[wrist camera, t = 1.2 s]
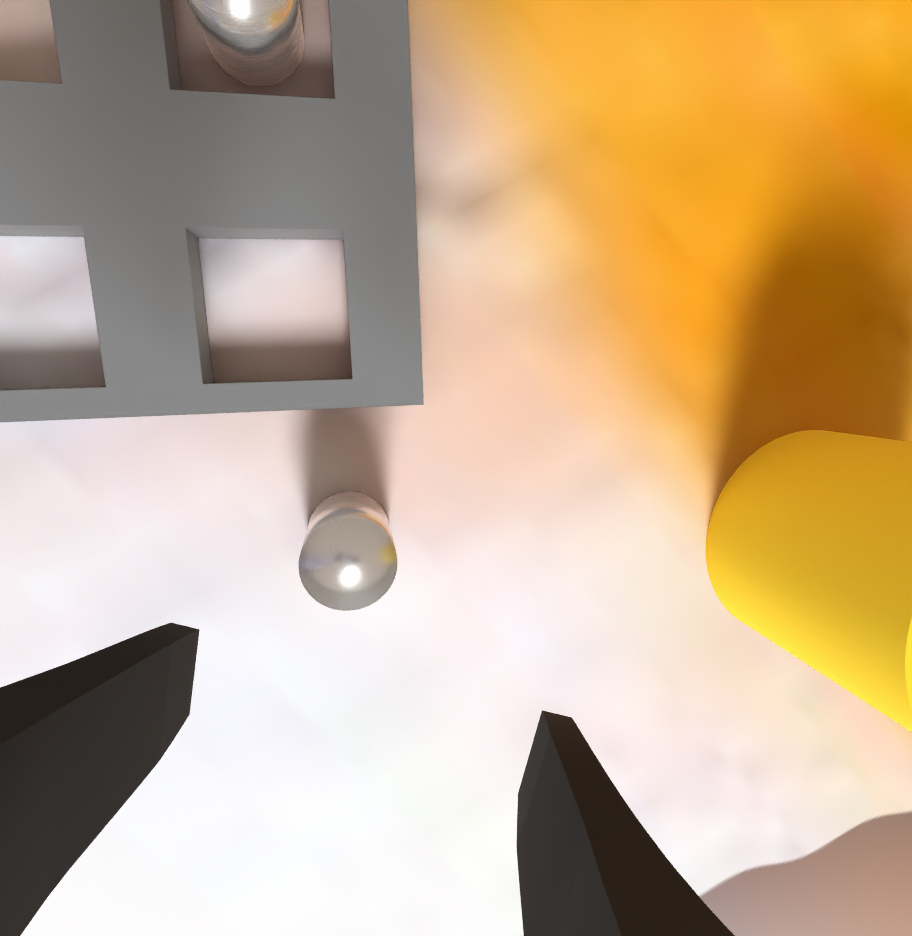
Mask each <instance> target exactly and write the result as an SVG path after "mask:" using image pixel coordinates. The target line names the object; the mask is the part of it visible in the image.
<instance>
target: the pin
mask: <svg viewBox="0 0 912 936" xmlns="http://www.w3.org/2000/svg"><path fill="white" fill-rule="evenodd" d="M188 2H189V4H190V6H191V9H192V11H193V13H194V15H195V18H196V20H197V22H198V25H199V27H200V29H201V31H202V34H203V36H204V38H205V40H206V43H207V45H208V47H209V49H210V52H211V53H212V55H213V57H214V59H215V60H216V62H217V63H218V64H219V65H220V67H221V68H222V69H223V70H224V71H225V72H226V73H227V74H229V75H230V76H231V77H233V78H234V79H236V80H238V81H240V82H242V83H244V84H247V85H251V86H256V87H269V86H274V85H277V84H279V83H281V82H283V81H285V80H286V79H288V78H289V77H290V76H291V75H292V74H293V73H294V72H295V70H296V69H297V67H298V65H299V64H300V61H301V59H302V55H303V51H304V33H303V25H302V18H301V11H300V3H299V0H188Z"/></svg>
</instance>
